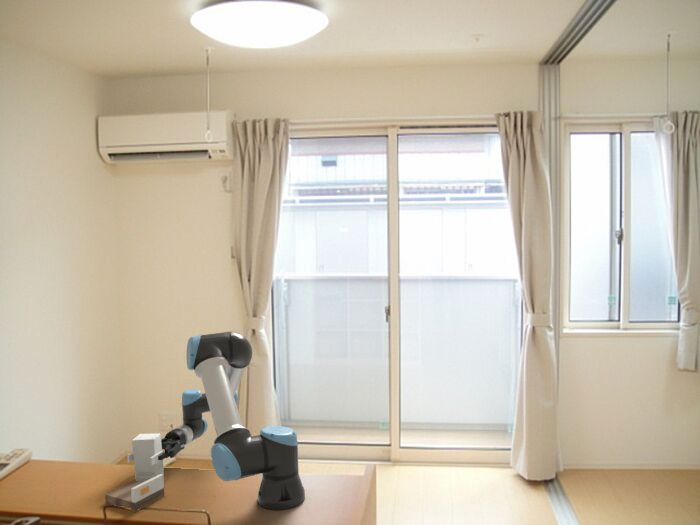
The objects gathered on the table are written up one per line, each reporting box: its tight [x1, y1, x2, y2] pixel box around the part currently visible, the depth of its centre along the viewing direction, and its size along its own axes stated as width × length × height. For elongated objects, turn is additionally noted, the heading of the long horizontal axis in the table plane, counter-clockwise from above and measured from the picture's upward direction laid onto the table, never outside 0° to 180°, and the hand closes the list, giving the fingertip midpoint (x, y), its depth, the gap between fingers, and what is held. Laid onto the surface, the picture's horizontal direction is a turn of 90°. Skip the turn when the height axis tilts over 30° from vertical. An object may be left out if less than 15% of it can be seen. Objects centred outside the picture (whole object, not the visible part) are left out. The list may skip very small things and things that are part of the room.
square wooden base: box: [104, 474, 165, 513], centre depth 193 cm, size 14×12×7 cm
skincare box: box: [131, 432, 165, 482], centre depth 209 cm, size 8×7×16 cm
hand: (139, 460), depth 205 cm, fingers closed on skincare box, 9 cm apart
